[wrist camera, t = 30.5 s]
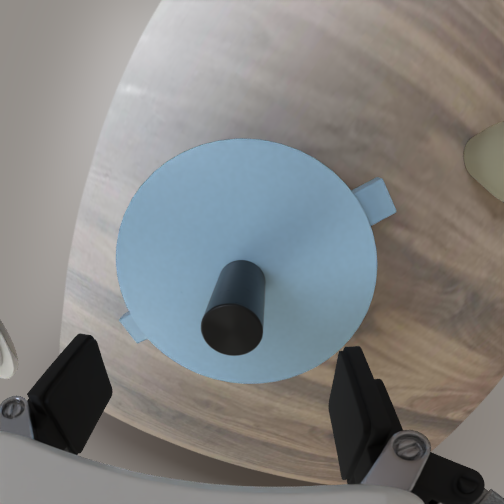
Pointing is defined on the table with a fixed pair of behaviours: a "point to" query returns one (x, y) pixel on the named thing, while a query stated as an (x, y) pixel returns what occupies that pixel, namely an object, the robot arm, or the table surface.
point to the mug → (487, 159)
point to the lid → (246, 261)
